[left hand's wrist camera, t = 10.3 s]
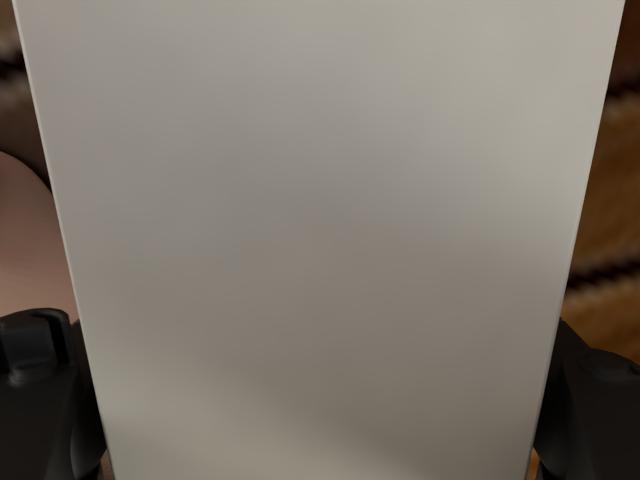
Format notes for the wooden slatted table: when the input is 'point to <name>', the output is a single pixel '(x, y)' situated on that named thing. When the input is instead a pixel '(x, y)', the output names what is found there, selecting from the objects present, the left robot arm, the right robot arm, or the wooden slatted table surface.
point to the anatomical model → (31, 245)
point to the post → (319, 224)
